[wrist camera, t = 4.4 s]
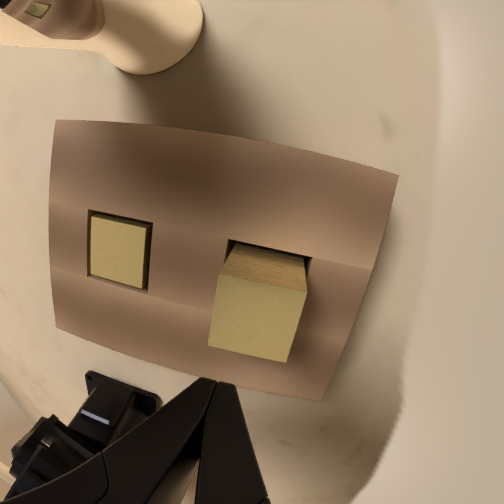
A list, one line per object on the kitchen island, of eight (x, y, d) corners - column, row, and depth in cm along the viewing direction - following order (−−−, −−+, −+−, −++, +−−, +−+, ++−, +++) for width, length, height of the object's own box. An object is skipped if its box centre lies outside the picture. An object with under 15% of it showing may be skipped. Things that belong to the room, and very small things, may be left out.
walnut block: (317, 358, 19) (320, 401, 16) (88, 300, 20) (56, 327, 16) (374, 169, 15) (398, 175, 12) (97, 121, 16) (55, 119, 12)
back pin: (170, 260, 18) (141, 288, 15) (125, 249, 18) (90, 273, 15) (176, 210, 17) (145, 228, 14) (129, 201, 18) (91, 216, 14)
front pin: (287, 312, 15) (285, 362, 11) (227, 298, 15) (207, 345, 12) (303, 254, 14) (307, 292, 10) (237, 240, 14) (218, 273, 11)
